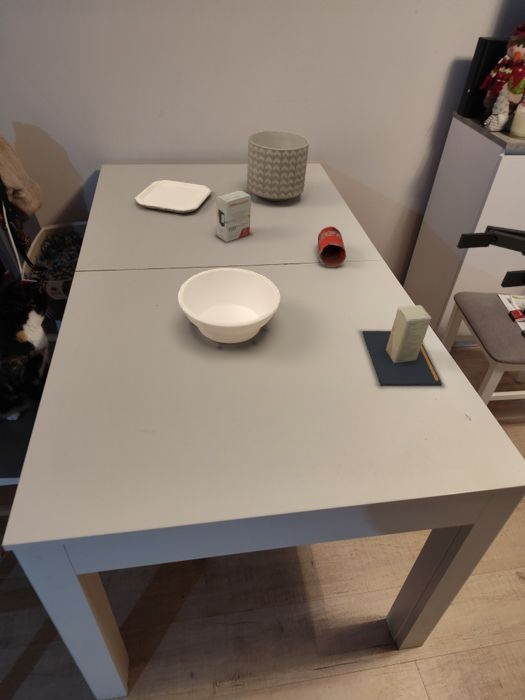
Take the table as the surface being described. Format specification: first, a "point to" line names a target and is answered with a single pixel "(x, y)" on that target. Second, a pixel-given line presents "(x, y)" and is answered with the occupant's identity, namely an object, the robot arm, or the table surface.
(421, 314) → the box
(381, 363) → the desk mat
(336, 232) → the beverage can
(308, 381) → the table surface
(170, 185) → the plate
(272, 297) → the bowl
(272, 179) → the planter
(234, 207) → the ink box
